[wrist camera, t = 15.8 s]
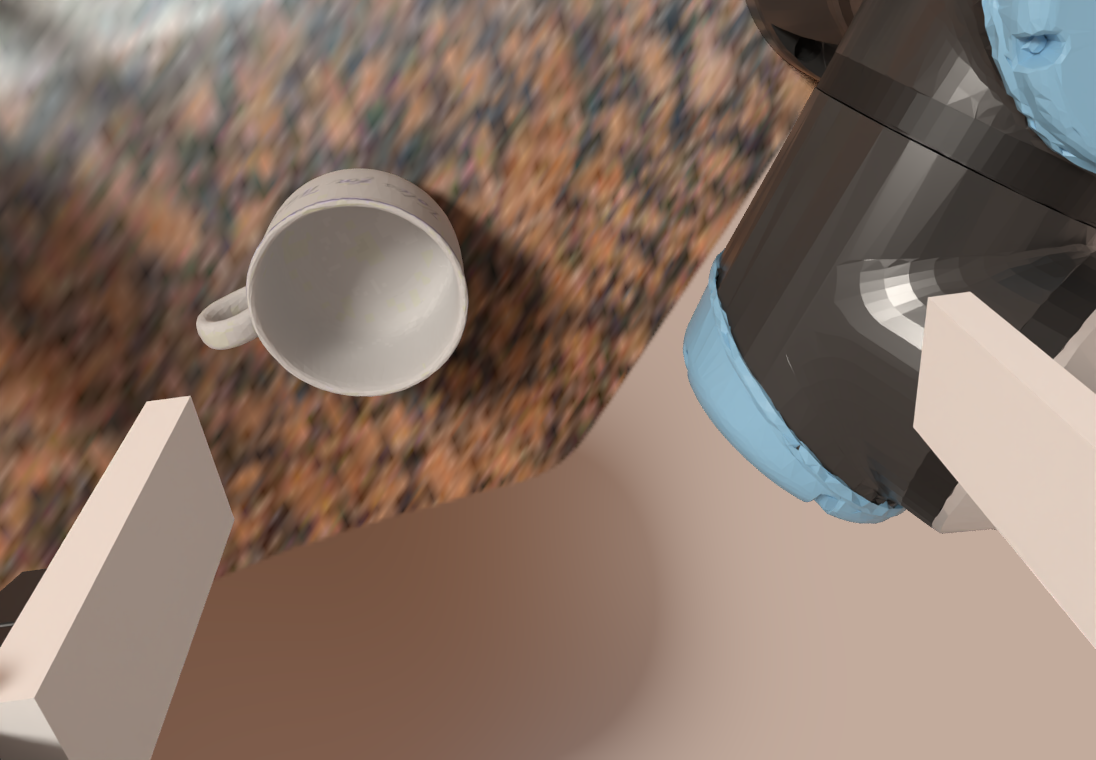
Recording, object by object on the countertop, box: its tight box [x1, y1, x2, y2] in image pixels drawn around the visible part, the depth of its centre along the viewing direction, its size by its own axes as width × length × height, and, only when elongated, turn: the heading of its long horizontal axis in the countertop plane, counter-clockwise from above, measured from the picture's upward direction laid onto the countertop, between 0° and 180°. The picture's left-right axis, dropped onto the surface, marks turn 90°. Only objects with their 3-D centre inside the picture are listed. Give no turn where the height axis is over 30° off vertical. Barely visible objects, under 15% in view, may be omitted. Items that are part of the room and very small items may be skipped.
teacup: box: [196, 168, 469, 396], centre depth 47 cm, size 14×11×8 cm
